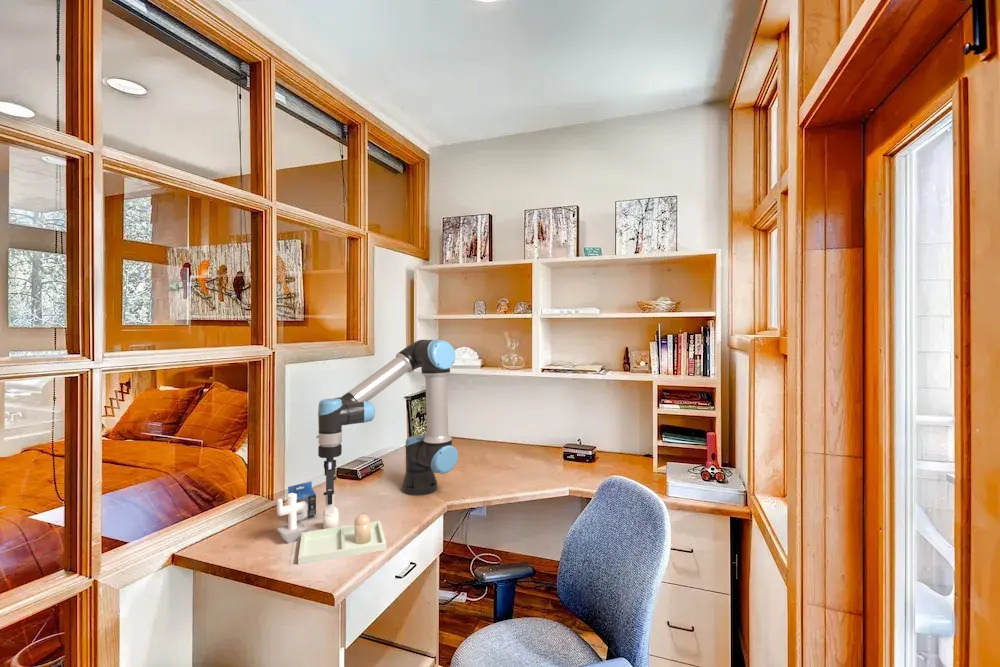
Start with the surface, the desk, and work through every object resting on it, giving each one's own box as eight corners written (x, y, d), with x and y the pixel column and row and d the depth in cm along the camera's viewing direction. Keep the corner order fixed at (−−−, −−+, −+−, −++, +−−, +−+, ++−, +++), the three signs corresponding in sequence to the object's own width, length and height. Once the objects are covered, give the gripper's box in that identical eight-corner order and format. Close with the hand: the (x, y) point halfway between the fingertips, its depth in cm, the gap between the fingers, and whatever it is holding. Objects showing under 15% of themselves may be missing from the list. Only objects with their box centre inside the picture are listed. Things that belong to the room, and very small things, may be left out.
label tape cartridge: (291, 523, 164) (291, 489, 164) (287, 520, 167) (287, 487, 167) (316, 516, 170) (316, 483, 170) (312, 513, 173) (311, 481, 173)
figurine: (311, 538, 153) (310, 493, 153) (281, 547, 146) (280, 500, 146) (302, 531, 158) (302, 487, 158) (273, 540, 151) (273, 495, 151)
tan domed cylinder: (370, 536, 151) (369, 510, 151) (371, 542, 147) (370, 516, 147) (354, 538, 150) (353, 512, 150) (354, 545, 145) (354, 518, 145)
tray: (380, 529, 159) (380, 520, 159) (386, 552, 142) (386, 543, 142) (302, 541, 150) (301, 532, 150) (298, 568, 133) (298, 557, 133)
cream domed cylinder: (338, 526, 161) (338, 502, 161) (339, 532, 157) (338, 507, 157) (323, 529, 160) (323, 504, 159) (323, 535, 155) (323, 510, 155)
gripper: (319, 437, 168) (319, 495, 168) (317, 454, 145) (317, 521, 145) (340, 436, 171) (340, 493, 171) (342, 452, 147) (342, 518, 147)
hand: (329, 506), depth 158 cm, fingers open, 13 cm apart
